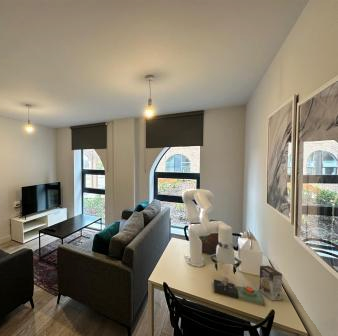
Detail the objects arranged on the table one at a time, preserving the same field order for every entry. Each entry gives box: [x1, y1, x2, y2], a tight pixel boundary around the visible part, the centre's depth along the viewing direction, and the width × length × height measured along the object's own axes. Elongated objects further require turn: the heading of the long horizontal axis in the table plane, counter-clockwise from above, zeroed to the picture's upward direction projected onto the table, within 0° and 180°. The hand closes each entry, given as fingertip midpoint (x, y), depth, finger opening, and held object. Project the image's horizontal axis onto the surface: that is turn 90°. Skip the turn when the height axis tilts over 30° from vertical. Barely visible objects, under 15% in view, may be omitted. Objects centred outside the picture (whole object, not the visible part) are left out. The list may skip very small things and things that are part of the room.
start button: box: [244, 285, 254, 293], centre depth 114 cm, size 4×4×2 cm
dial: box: [220, 276, 229, 288], centre depth 120 cm, size 4×4×5 cm
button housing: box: [235, 285, 265, 306], centre depth 115 cm, size 12×10×4 cm
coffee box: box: [259, 265, 283, 301], centre depth 115 cm, size 9×6×16 cm
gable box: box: [237, 227, 263, 277], centre depth 145 cm, size 22×13×28 cm, turn 149°
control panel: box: [213, 279, 238, 299], centre depth 120 cm, size 12×10×3 cm
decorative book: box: [189, 219, 220, 256], centre depth 168 cm, size 23×7×30 cm, turn 62°
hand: (225, 271), depth 119 cm, fingers open, 9 cm apart
